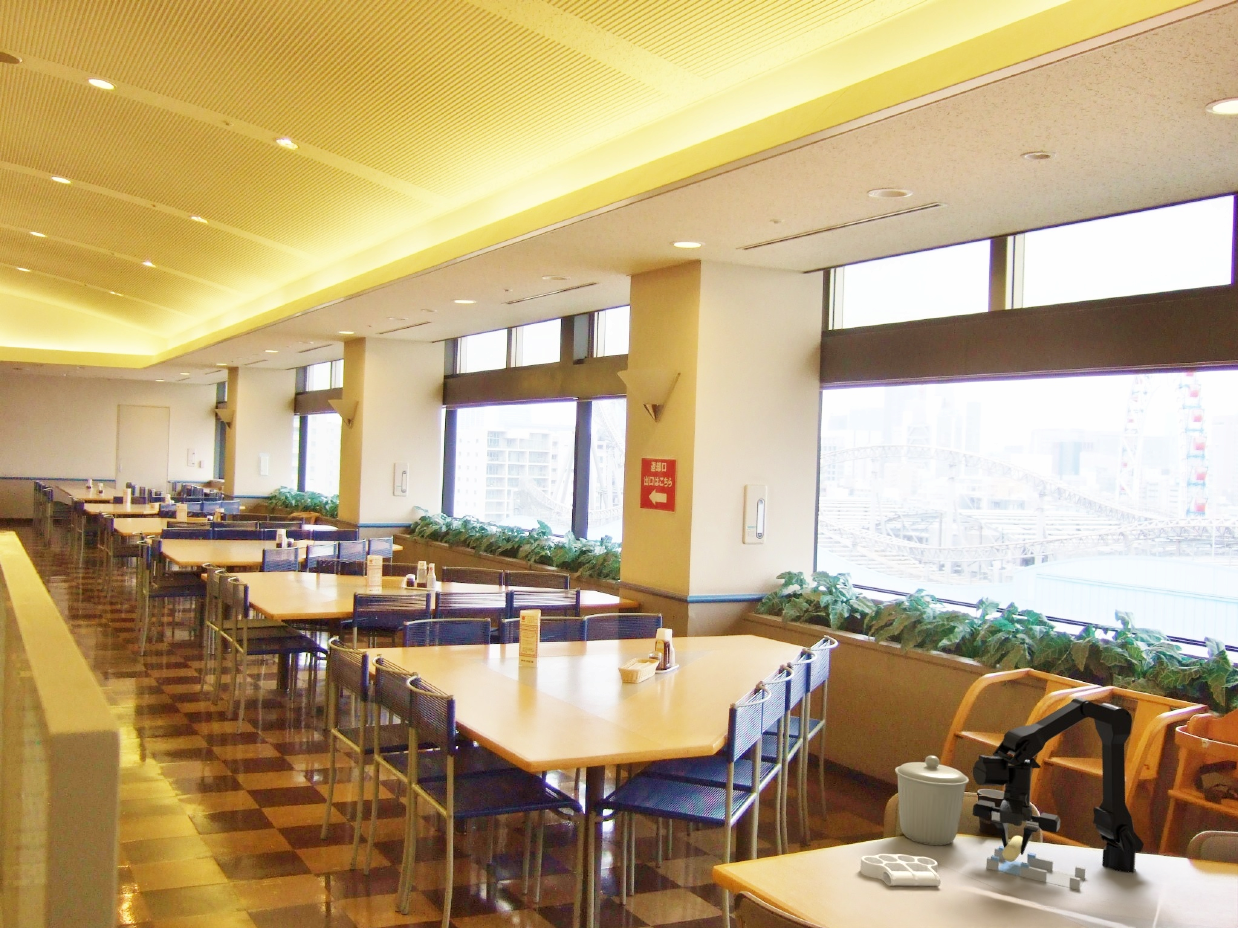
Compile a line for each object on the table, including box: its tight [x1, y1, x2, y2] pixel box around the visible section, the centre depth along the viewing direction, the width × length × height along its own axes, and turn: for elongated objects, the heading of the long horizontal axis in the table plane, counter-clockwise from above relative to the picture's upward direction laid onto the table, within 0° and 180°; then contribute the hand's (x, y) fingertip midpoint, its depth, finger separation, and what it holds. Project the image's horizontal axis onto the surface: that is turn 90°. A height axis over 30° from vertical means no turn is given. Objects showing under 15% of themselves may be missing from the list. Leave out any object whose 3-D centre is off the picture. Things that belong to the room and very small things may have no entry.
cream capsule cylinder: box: [1002, 835, 1023, 862], centre depth 243 cm, size 13×3×3 cm, turn 149°
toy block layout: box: [985, 845, 1086, 891], centre depth 241 cm, size 20×10×4 cm, turn 59°
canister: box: [894, 755, 970, 846], centre depth 265 cm, size 18×18×21 cm
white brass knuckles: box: [859, 853, 941, 887], centre depth 236 cm, size 3×18×15 cm
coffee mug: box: [976, 788, 1004, 837], centre depth 276 cm, size 12×9×10 cm
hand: (1014, 852), depth 244 cm, fingers closed on cream capsule cylinder, 3 cm apart
